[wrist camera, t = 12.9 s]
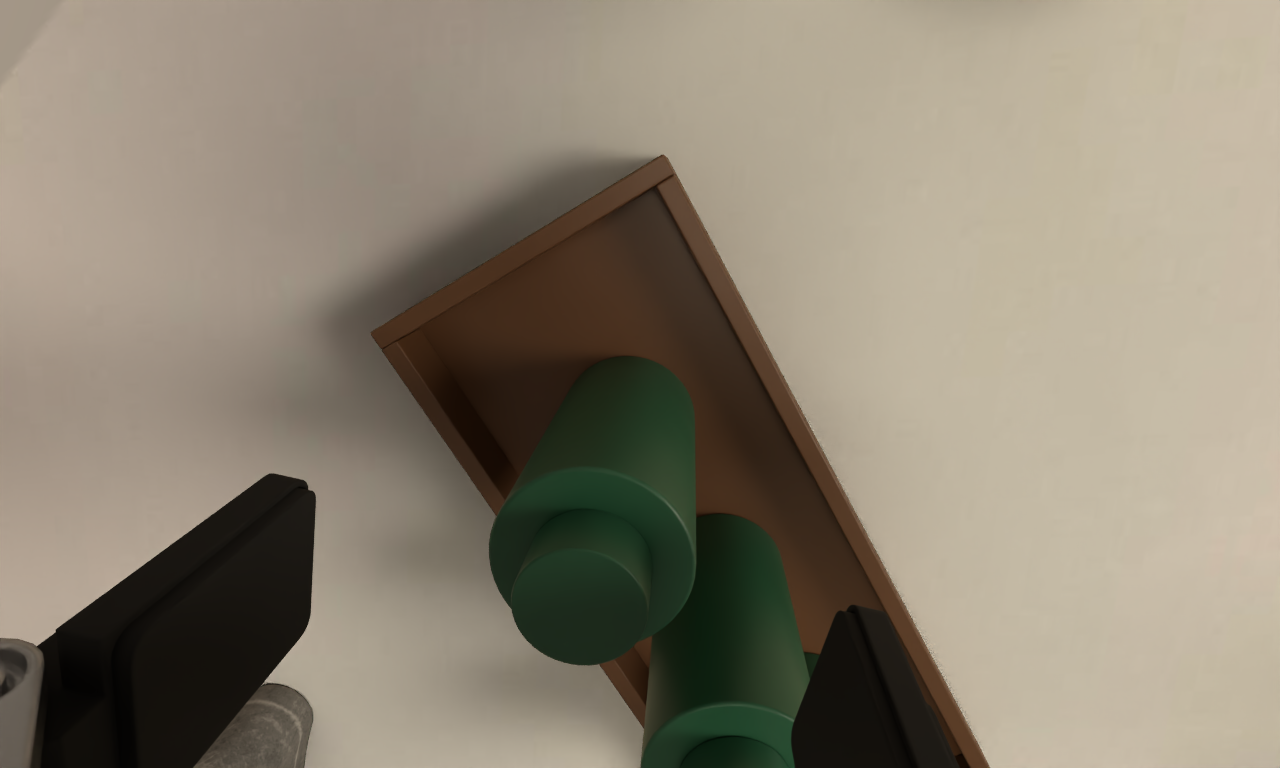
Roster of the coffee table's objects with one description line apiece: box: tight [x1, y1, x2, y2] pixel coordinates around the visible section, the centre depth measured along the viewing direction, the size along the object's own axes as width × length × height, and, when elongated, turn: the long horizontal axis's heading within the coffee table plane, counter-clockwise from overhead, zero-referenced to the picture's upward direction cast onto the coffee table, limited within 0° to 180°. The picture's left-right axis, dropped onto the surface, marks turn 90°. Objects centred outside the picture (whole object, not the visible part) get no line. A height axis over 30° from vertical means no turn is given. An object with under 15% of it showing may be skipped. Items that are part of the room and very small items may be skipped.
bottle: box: [489, 356, 696, 665], centre depth 17 cm, size 4×4×10 cm
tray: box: [370, 155, 990, 768], centre depth 22 cm, size 25×10×2 cm, turn 30°
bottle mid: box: [641, 514, 810, 768], centre depth 18 cm, size 4×4×10 cm
